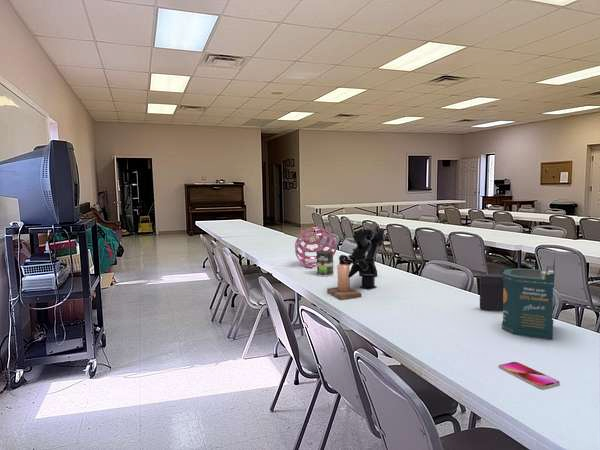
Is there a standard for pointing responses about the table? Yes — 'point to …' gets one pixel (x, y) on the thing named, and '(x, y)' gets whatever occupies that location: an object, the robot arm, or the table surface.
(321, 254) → the coffee can
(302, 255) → the pink openwork sphere
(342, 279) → the peach cylinder
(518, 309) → the donation box
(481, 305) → the dark grey block
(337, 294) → the shelf board
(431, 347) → the table surface
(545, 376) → the smartphone
